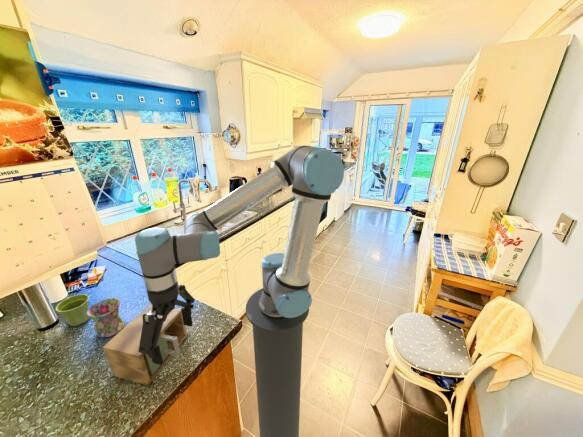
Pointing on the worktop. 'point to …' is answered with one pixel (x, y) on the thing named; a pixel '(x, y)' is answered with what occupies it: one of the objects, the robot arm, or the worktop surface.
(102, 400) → the worktop surface
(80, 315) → the plant pot
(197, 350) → the worktop surface
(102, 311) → the mug
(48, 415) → the worktop surface
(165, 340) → the sliding door
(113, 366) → the cupboard
